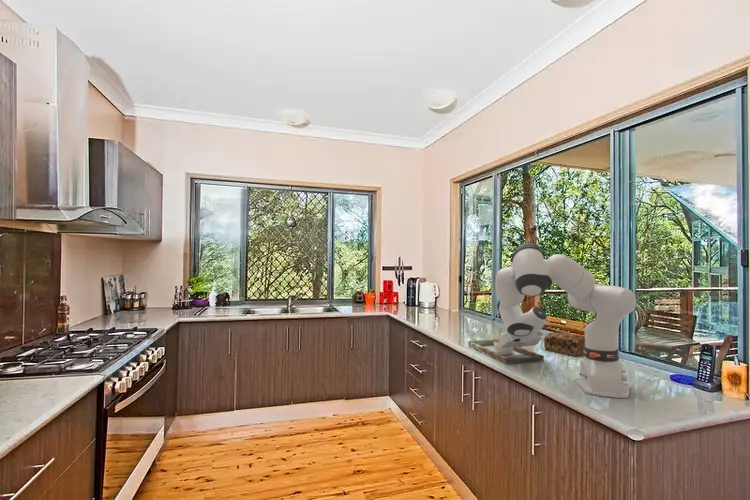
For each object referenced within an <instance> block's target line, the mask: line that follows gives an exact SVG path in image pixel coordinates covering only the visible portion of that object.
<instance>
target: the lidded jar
mask: <svg viewBox="0 0 750 500" xmlns="http://www.w3.org/2000/svg"><path fill="white" fill-rule="evenodd" d="M500 338H501V336H495V337H493V340H494V345H493V346H494V349H495V351H496V353H498V354H500V355H502V356H511V354H512V353H514V350H511V347H507V348H502V347H501V346H500V344H499V339H500Z"/></svg>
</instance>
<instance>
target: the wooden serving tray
mask: <svg viewBox="0 0 750 500" xmlns="http://www.w3.org/2000/svg"><path fill="white" fill-rule="evenodd" d="M469 346H470V347H469ZM488 346H489V347H490V346H494V340H493V339H482V340H481V339H479V340H478V339H477V340H468V347H469V348H471V347H472V348H471V349H473V348H474V349H473V350H475V349H477V350H479V351H478V352H480V351H481V352H480V353H482V352H484V353H486V354H488V355H490V356H492V357H493V359H494V358H495V360H496V359H497V360H496V361H498V360H499V361H498V362H501V363H503V364H505V365H511V364H512V365H513V364H515V365H516V364H524V363H535V362H536V363H537V362H544V361H545V355H543V354H539V353H538V352H535V351H532V350H529V349H527V348H524V347H523V346H522V347H520V348H518V350H513V352H517V353H519V354H517V355H501V354H498V352H495V351H493V350H491V349H488V348H486V347H488ZM477 350H476V351H477ZM484 353H483V354H484ZM486 354H485V355H486ZM488 355H487V356H488ZM490 356H489V357H490ZM492 357H491V358H492Z"/></svg>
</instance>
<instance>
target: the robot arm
mask: <svg viewBox="0 0 750 500" xmlns="http://www.w3.org/2000/svg"><path fill="white" fill-rule="evenodd" d="M510 262H511V265H510V266H507V267H503V268H501V269H499V270H498V271H497V273H496V275H495V292H496V296H497V299H498V303H497V305H496V309H497V310H498V313H499V314H500V317H501V320H502V322H503V325H504V328H505V332H504V333H503V334H502V335H501V336H500V337H501V338H500V339H499V344H500V346H501V347H502V348H507V347H511V350H513V351H514V350H518V348H520V347H522V348H523V347H530V346H531V347H532V346H537V345H538V344H539V343H540V341H541V340H542V336H543V335H544V332H542V331H541V330H543V328H544V326H545V324H547V320H548V316H547V314H546V312H545V311H544V310H543V309H542V308H540V307H538V306H534V307H532V308H530V310H529V311H526V312H525V313H524V312H523V310H522V308H521V306H520V304H522V303H523V302H524V299H525V297H537V296H540V295H541V294H543V293H545V292H546V291H547V290H549V289H550V288H551V287H552V284H553V283H554V284H555V285H557V287H559V289H560V288H561V289H562V290H563V291H564V292H566V293H567V301H568V304H569V306H571V307H572V308H573V309H574V308H575V309H576V310H581V311H583V312H590V313H596V317H595V319H594V321H592V322H590V323H588V324H586V326H585V327H584V337H585V346H584V349H583V352H584V355H583V356H584V357H583V358H581V359H580V360H579V377H575V378H574V382H575V383H576V384H577V385H578V387H580V389H581V390H582V391H583V392H584V393H585V394H588V395H594V396H598V397H599V396H600V397H605V398H617V399H627V398H629V397H630V389H631V388H630V387H631V385H630V383H627V382H628V375H626V374H625V373H626V369H624V367H623V363H622V362H621V361H620V353H619V349H618V333H619V332H618V331H619V327H620V324H621V322H622V321H623V319H624V318H626V316H629V314H631V313H632V312H633V311H634V310H635V307H636V305H637V298H636V296H635V294H634V292H633V291H632V290H631V289H629V288H626V287H621V286H618V285H608V284H607V285H605V284H597V283H596V280H595V276H594V275H593V274H592V273H591V272H590V271H589V270H587V269H586V268H585V267H584V266H582V265H581V264H580V263H579V262H577V261H575V260H574V259H573V258H570V257H569V256H567V255H564V254H560V253H558V254H557V253H556V254H552V255H551V256H550V257H548V258H547V259H545V258H544V251H543V249H542V248H541V247H540V245H538V244H536V243H535V242H534V243H533V242H525V243H522V244H520V245H519V246H518V247H516V249H515V251H514V253H513V255H512V256H511V258H510Z"/></svg>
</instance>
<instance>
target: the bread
mask: <svg viewBox="0 0 750 500" xmlns="http://www.w3.org/2000/svg"><path fill="white" fill-rule="evenodd" d="M584 346H585V335H582V334H574V333H573V334H572V333H563V332H549V333H548V334H547V335H545V336H544V338H543V347H544V351H546V352H547V351H548V352H550V353H552V352H553V353H556V354H557V353H558V354H561V355H567V356H570V357H582V356H584V352H583V349H584Z"/></svg>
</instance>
